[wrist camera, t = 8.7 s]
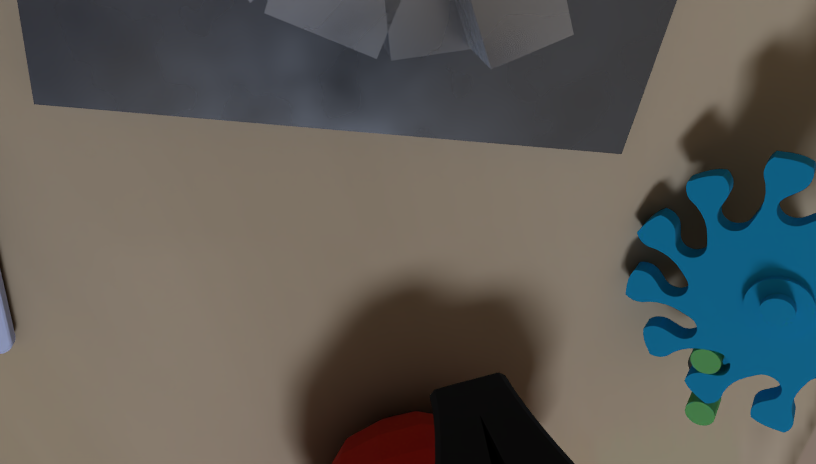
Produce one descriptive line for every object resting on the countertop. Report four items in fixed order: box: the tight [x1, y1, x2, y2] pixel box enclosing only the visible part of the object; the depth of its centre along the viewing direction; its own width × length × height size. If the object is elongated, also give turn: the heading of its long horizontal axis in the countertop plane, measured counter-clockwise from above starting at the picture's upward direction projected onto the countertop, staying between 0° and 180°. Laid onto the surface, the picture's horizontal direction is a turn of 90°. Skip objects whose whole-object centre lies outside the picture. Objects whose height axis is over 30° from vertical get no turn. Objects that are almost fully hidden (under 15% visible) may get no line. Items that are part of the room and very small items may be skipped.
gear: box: [626, 151, 816, 432], centre depth 22 cm, size 11×6×10 cm
